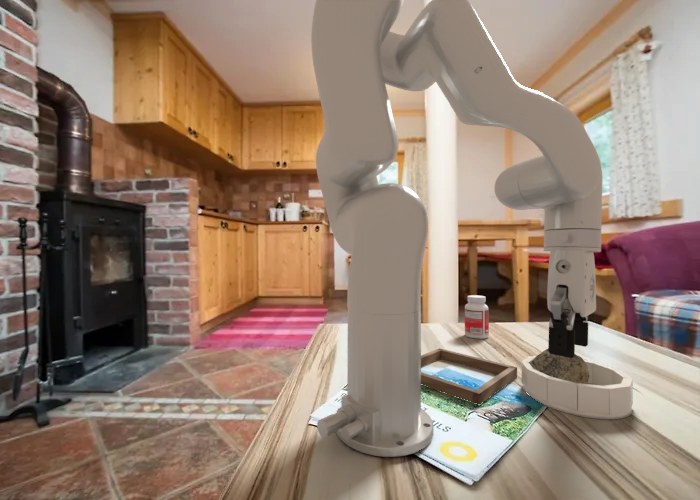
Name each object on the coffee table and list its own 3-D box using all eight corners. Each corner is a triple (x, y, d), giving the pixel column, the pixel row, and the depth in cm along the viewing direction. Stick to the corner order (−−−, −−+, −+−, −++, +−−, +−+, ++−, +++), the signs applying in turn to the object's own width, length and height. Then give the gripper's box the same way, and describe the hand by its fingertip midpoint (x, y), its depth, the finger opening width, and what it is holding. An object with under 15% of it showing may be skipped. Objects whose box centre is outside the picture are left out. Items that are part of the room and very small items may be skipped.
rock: (592, 390, 51) (608, 369, 50) (570, 399, 47) (587, 376, 46) (551, 360, 57) (564, 339, 55) (527, 365, 53) (541, 343, 51)
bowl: (626, 431, 41) (625, 397, 41) (510, 395, 51) (510, 368, 51) (636, 397, 50) (635, 370, 50) (537, 373, 60) (537, 350, 60)
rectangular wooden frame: (479, 405, 47) (479, 393, 47) (394, 375, 59) (394, 366, 59) (517, 377, 58) (517, 367, 58) (439, 356, 70) (439, 348, 70)
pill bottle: (479, 333, 91) (479, 294, 91) (493, 338, 85) (493, 297, 85) (460, 334, 90) (460, 295, 90) (473, 339, 84) (473, 298, 84)
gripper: (589, 238, 42) (587, 368, 42) (609, 245, 54) (607, 345, 54) (527, 239, 47) (525, 354, 47) (558, 245, 59) (556, 336, 59)
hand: (569, 349), depth 50 cm, fingers open, 9 cm apart
